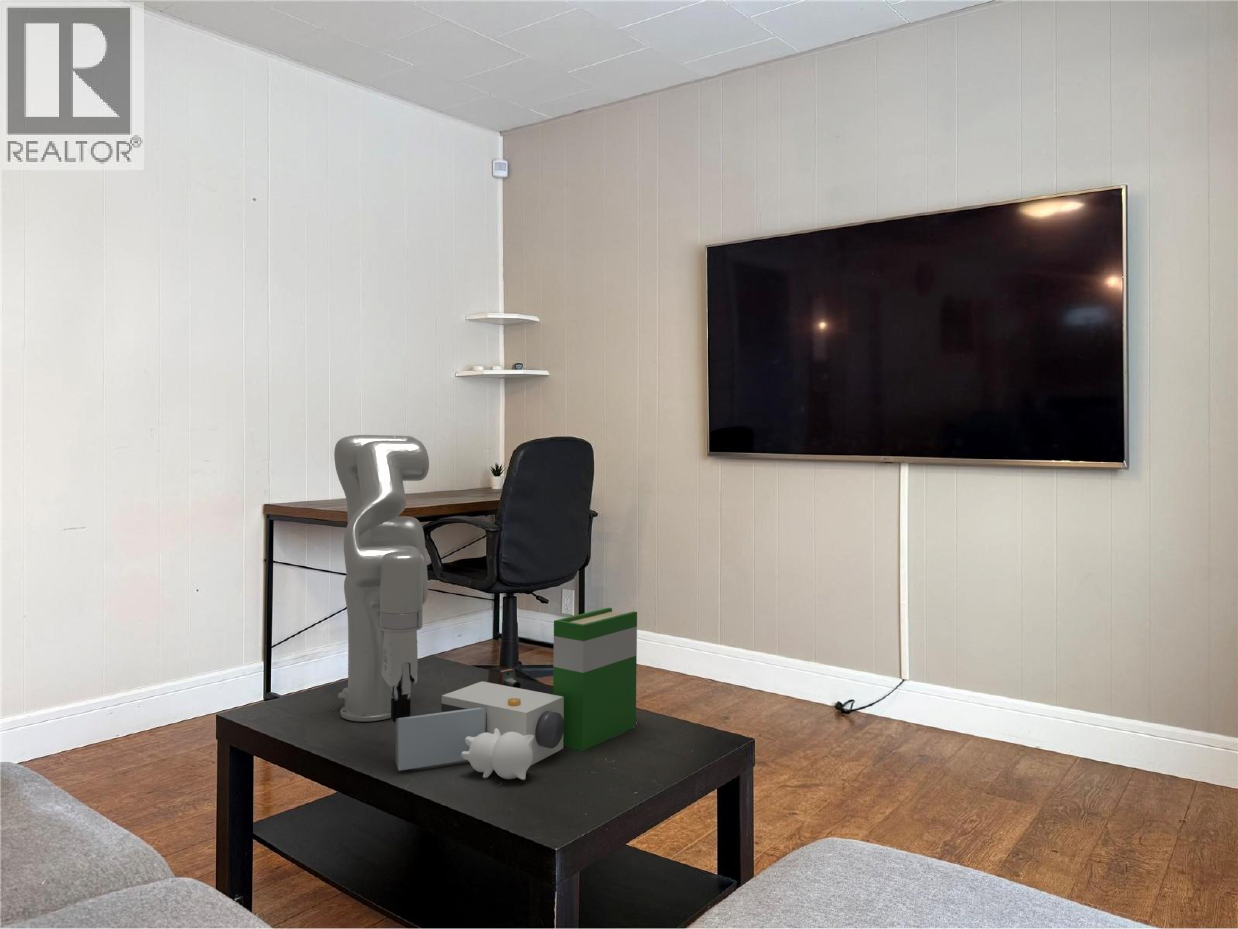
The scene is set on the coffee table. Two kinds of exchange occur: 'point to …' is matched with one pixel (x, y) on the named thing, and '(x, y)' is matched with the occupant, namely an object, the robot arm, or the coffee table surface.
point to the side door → (436, 737)
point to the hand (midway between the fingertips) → (400, 719)
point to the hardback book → (596, 675)
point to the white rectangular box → (515, 713)
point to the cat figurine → (500, 754)
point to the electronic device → (503, 677)
